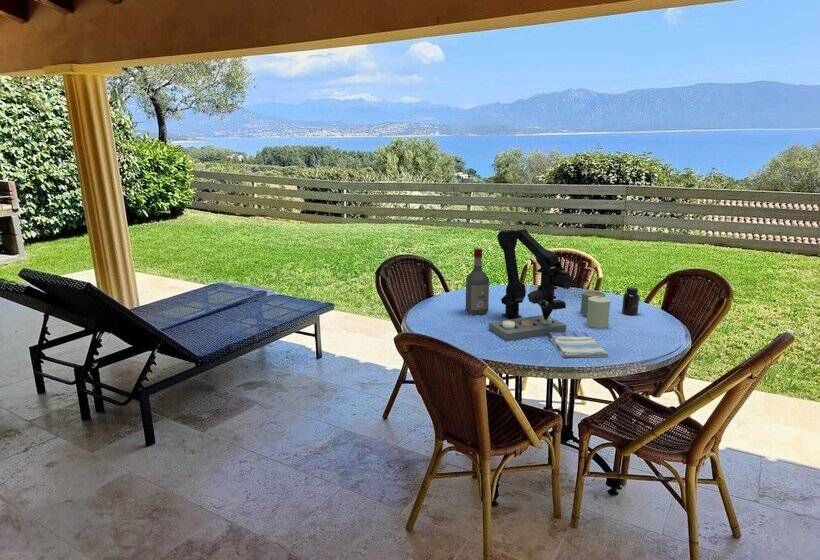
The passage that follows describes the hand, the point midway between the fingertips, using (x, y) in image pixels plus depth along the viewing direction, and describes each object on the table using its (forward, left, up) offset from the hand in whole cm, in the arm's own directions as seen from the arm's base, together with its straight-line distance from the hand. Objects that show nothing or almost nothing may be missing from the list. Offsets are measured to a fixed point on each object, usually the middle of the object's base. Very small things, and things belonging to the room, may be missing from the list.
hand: (545, 319), depth 224 cm
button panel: (0, -9, -4) cm, 10 cm away
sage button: (0, 0, -3) cm, 3 cm away
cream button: (0, -18, -2) cm, 18 cm away
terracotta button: (0, -9, -3) cm, 10 cm away
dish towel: (+22, -1, -5) cm, 23 cm away
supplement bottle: (-2, +47, -4) cm, 47 cm away
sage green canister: (+5, +23, -4) cm, 24 cm away
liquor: (-30, -17, -4) cm, 35 cm away
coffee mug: (-9, +31, -4) cm, 32 cm away
